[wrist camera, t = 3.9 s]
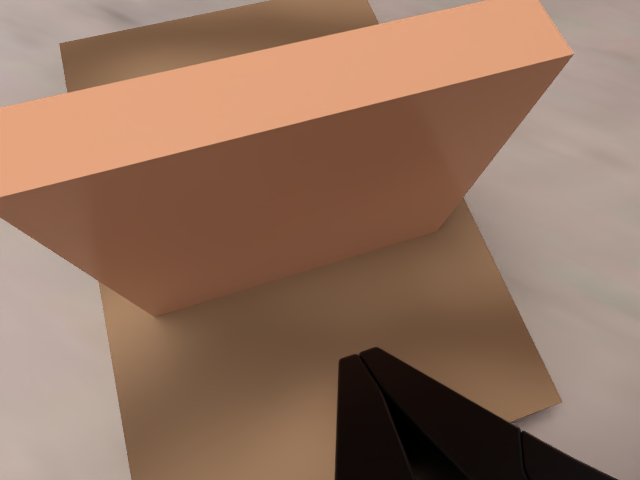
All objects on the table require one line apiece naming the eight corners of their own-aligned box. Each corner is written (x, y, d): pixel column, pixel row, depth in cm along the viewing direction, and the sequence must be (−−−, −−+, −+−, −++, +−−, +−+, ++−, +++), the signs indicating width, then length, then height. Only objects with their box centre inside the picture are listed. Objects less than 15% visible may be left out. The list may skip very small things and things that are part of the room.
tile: (436, 231, 16) (574, 53, 8) (154, 316, 14) (-23, 202, 6) (418, 190, 16) (529, -14, 9) (144, 268, 15) (-30, 108, 7)
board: (538, 402, 15) (562, 402, 14) (161, 546, 13) (144, 562, 12) (354, 10, 22) (358, -18, 20) (76, 69, 20) (59, 43, 18)
